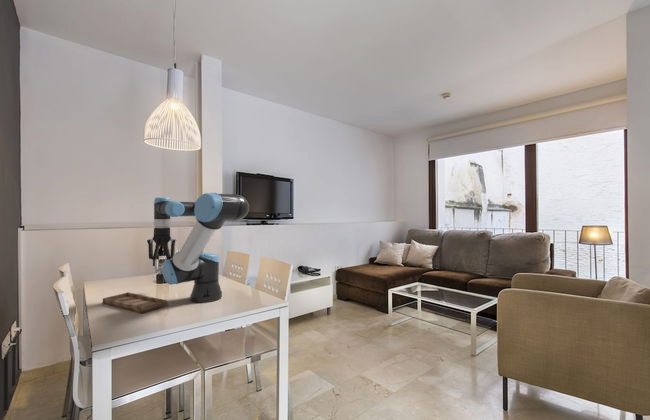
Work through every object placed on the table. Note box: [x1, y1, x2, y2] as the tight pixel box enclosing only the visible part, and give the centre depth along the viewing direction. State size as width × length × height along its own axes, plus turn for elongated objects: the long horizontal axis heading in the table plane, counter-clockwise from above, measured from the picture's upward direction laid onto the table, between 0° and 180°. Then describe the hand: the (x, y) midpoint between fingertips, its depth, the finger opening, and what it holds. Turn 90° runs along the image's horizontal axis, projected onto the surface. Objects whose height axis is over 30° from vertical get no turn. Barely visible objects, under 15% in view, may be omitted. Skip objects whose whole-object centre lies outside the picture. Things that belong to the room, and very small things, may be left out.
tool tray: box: [102, 291, 168, 314], centre depth 142 cm, size 30×12×2 cm, turn 64°
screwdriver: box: [152, 263, 163, 278], centre depth 154 cm, size 5×25×4 cm, turn 11°
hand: (161, 272), depth 154 cm, fingers closed on screwdriver, 4 cm apart
